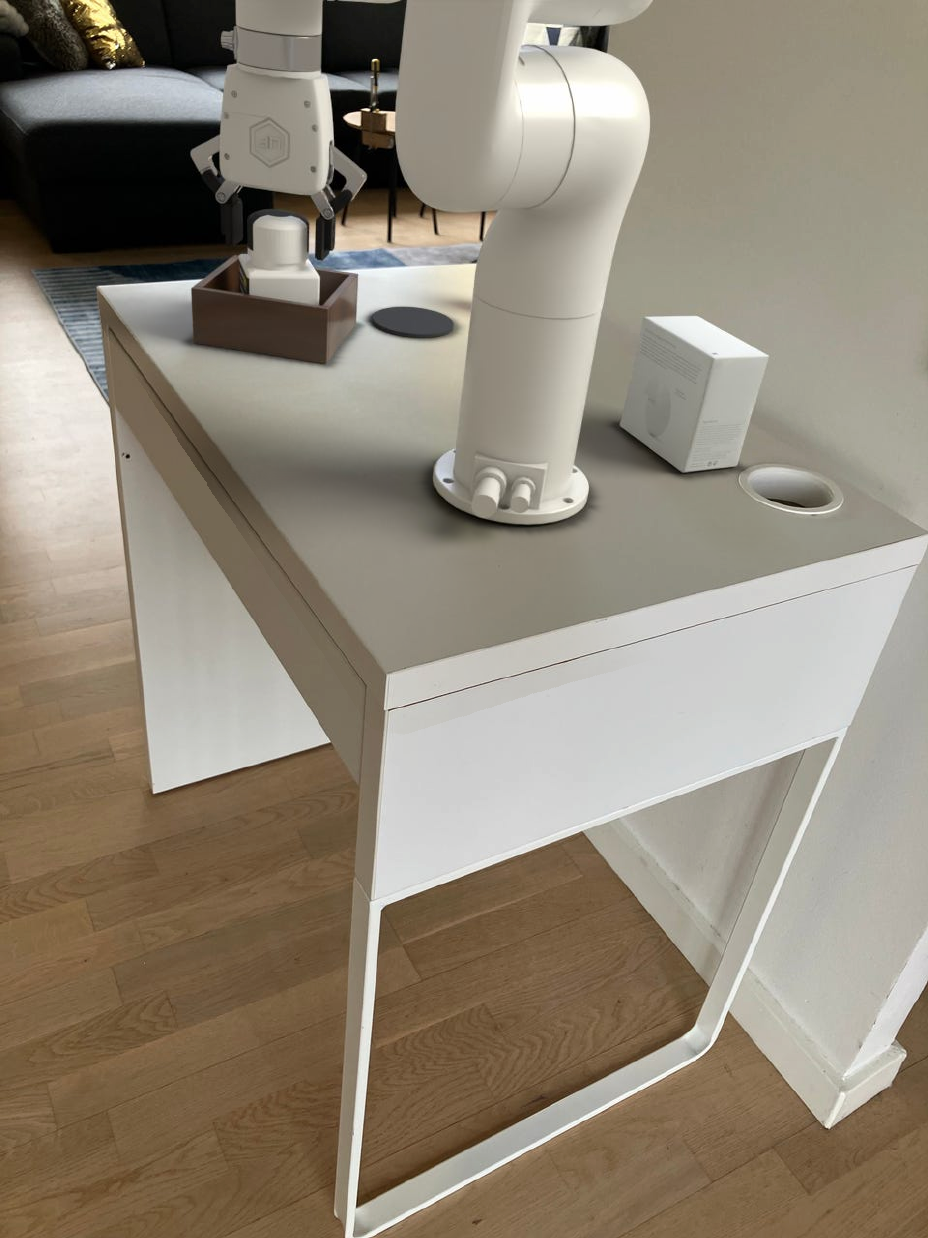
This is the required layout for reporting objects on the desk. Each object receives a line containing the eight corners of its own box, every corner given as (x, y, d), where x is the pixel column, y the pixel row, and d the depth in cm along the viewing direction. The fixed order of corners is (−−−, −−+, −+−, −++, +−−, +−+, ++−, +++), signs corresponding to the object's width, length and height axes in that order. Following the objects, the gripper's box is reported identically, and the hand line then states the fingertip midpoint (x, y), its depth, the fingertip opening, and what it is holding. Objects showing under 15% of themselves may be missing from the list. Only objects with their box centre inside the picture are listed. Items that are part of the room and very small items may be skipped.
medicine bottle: (239, 321, 109) (236, 202, 102) (306, 321, 111) (308, 205, 104) (248, 346, 103) (246, 222, 96) (318, 345, 105) (321, 224, 99)
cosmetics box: (740, 467, 92) (773, 353, 86) (682, 475, 89) (711, 358, 83) (673, 419, 99) (698, 311, 93) (617, 425, 97) (640, 315, 91)
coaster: (446, 342, 110) (446, 339, 110) (364, 329, 111) (364, 326, 110) (459, 317, 118) (459, 313, 117) (382, 305, 118) (382, 301, 118)
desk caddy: (326, 364, 101) (327, 309, 98) (193, 343, 102) (190, 287, 99) (356, 324, 112) (358, 273, 109) (235, 305, 113) (234, 254, 110)
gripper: (170, 43, 90) (179, 246, 100) (363, 71, 89) (354, 273, 99) (200, 36, 96) (207, 228, 106) (382, 62, 95) (371, 253, 105)
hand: (278, 249), depth 102 cm, fingers open, 8 cm apart
